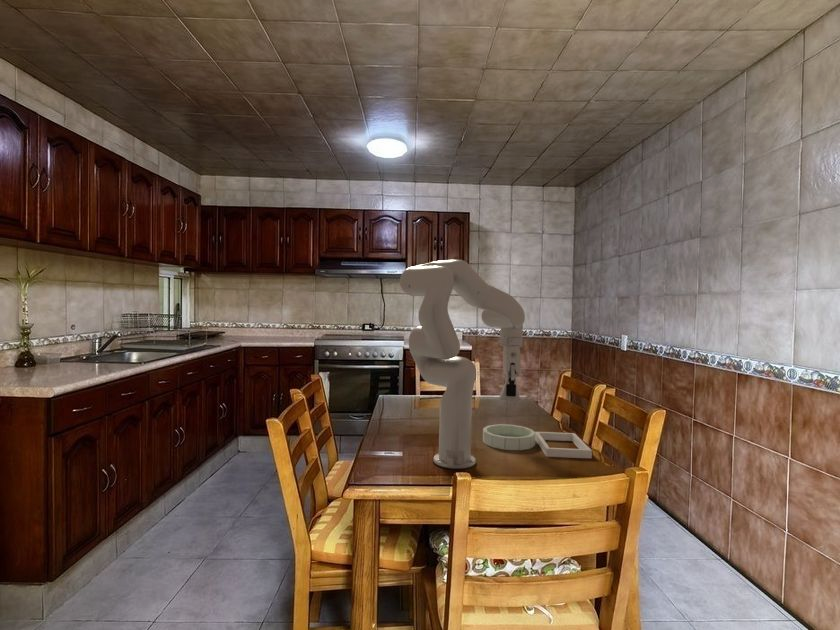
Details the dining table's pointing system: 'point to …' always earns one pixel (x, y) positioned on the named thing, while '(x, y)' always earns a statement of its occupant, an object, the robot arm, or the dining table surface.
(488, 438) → the bowl
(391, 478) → the dining table surface
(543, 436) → the light grey rectangular frame
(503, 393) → the flask
